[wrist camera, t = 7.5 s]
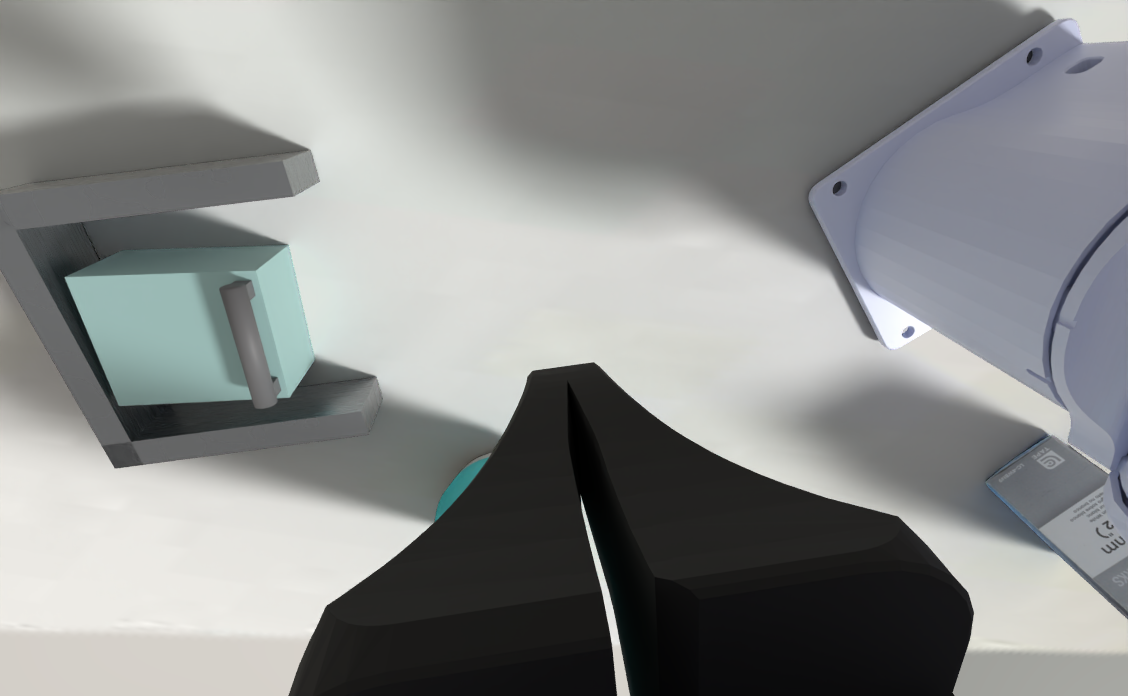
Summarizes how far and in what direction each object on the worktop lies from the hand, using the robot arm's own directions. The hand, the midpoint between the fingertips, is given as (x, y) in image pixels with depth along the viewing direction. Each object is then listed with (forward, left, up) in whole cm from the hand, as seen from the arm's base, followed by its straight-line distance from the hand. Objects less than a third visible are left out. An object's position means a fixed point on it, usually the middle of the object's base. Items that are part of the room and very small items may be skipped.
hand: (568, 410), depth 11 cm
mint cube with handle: (+10, -5, -11) cm, 16 cm away
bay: (+10, -5, -10) cm, 15 cm away
